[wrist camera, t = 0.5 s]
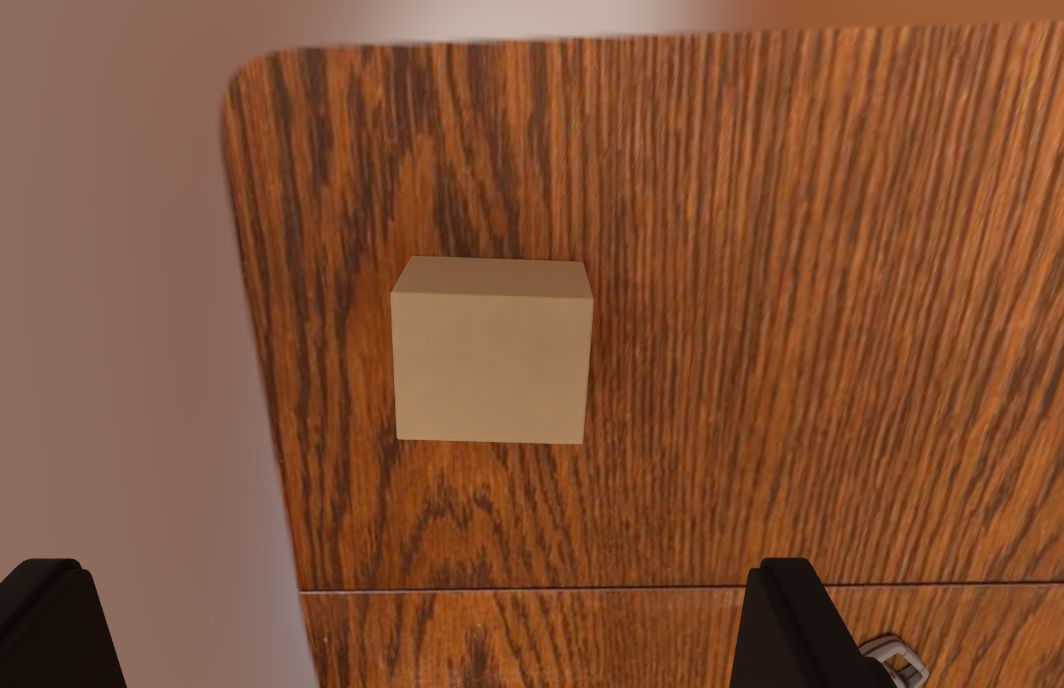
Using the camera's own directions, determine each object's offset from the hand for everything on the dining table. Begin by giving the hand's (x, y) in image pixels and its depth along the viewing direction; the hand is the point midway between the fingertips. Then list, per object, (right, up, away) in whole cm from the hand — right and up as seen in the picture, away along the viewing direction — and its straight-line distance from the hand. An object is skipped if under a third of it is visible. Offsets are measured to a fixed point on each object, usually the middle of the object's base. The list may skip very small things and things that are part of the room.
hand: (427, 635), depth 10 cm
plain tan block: (0, +5, +15) cm, 16 cm away
